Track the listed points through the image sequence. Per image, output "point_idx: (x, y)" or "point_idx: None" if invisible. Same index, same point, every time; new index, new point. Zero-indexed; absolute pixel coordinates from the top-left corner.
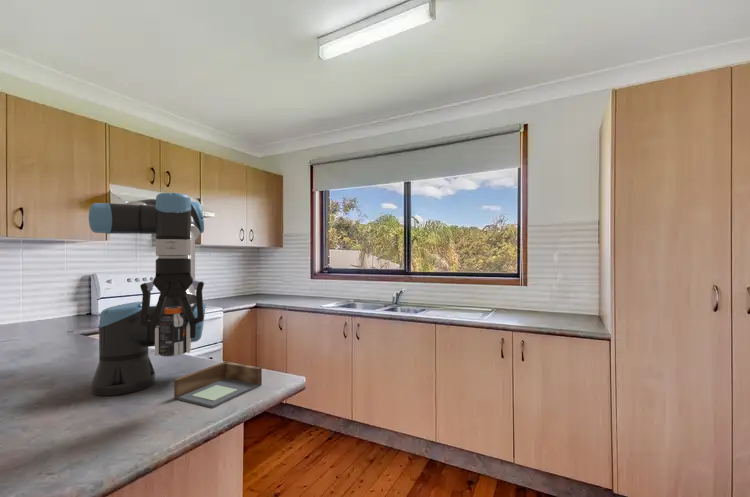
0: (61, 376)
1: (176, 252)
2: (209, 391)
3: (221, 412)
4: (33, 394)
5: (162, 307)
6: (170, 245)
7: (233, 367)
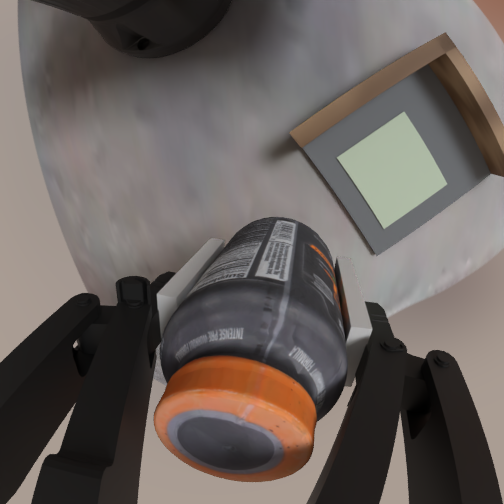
0: None
1: None
2: (383, 154)
3: (385, 286)
4: (39, 26)
5: (131, 416)
6: None
7: (463, 86)
